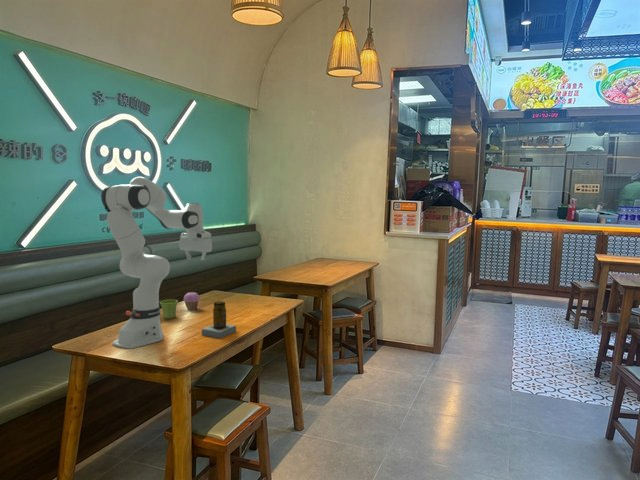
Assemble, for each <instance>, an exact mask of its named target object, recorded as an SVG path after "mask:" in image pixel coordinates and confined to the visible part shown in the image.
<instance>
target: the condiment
mask: <svg viewBox="0 0 640 480" xmlns="http://www.w3.org/2000/svg"><path fill="white" fill-rule="evenodd" d="M212 310H213V311H212V316H213V322H212V323H213V324H212V325H214V326H211V325H209V326H210V327H212V328H214V329H217V330H222V329H227V328H232V327H230V326H227V325H226V324H227V308H226V302H225V301H222V300H220V301H214V303H213V309H212Z"/></svg>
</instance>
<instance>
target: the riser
mask: <svg viewBox="0 0 640 480" xmlns="http://www.w3.org/2000/svg"><path fill="white" fill-rule="evenodd" d="M226 325H227V326H230V327H232V328H227V329H222V330H217V329H214V328H212V327H210V326H214V325H213V324H211V325H209V326H206V327H204V328H202V329H201V336H205V337H212V338H214V339H221V338H223V337H227V336H229V335H231V334H234V333H236V332H237V326H236V325H233V324H229V323H226Z"/></svg>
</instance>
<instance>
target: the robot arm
mask: <svg viewBox="0 0 640 480" xmlns="http://www.w3.org/2000/svg"><path fill="white" fill-rule="evenodd" d="M100 195H101V196H100V197H101V198H100V199H101V203H102V205H103V207H104V209H105V211H106V212H107V216H106V222H107V225H108V228H109V230H110V233H111V235H112V236H113V238H114V240H115V242H116V243H117V245H118V248H119V250H120V252H121V253H120V254H121V258H120V261H119V270H120V272H121V273H122V274H124V275H125V276H128V277H131V278H136V279H137V278H138V279H139V280H140V281H139V285H138V287H136V288H135V289H134V290H133V292H132V303H133V305H132V306H133V307H132V310H131V311H129V310H126V312H125V315H126V316H129V317H130V318H129V319H128V320H126V322H125V324H123V326H121V328H119V330H118V333H117V335H118V336H117V338H116V339H114V340H113V341H112V345H113V346H115V347H118V348H122V349H124V348H125V349H136V348H139V347H142V346H146V345H150V344H154V343H157V342H161V341H163V340H164V332H163V328H162V323H161V319H160V315H161V305H160V300H159V299H160V298H159V297H160V296H159V295H160V294H159V293H160V288H161V284H162V282H163V280H164V279H165V278H166V277H168V275H169V274H170V270H171V265H170V262H169V260H168V259H167V258H166V257H163V256H160V255H155V254H146V252H145V251H144V250H143V248H144V246H145V244H146V238H145V236H144V234H143V232H142V230H141V228H140V227H139V225H138V223H137V221H136V219H135V218H134V216H133V210H136V211H138V210H142V209H146V211H148V212H149V213H150V214H151V215H153V217H155V218H156V219H157V220H158V221H159V223H160V224H161V227H163V228H164V229H167V230H173V229H175V230H176V229H177V230H178V229H179V230H185V232H182V233H181V234H180V238H179V250H181V251H184V253H185V255H186V259H187V260H191V259H192V255H191V254H190V252H200V253H201V254H202V255H201V256H200V261H205V260H206V258H205V257H206V255H207V253H211V252H212V250H213V243H212V242H213V241H212V238H211V237H212V233H211V232H209V231H206V230H205V229H204V226H203V222H204V214H203V213H204V212H203V207H202V205H201V204H199V203H197V202H196V203H194V202H188V203H186V205H185V207H184V208H182V209H167V208H164V207H165V205H166V202H167V197H168V196H167V193H166V192H165V191H164V190H163V188H162V187H160V186H159V185H158V184H156V183H155V182H154V181H152V180H150V179H148V178H146V177H143V176H136V177H134V178H132V179H131V180H130V182H129V184H118V185H109V186H107V187H104V189H102V191H101V194H100Z"/></svg>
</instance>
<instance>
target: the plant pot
mask: <svg viewBox="0 0 640 480" xmlns="http://www.w3.org/2000/svg"><path fill="white" fill-rule="evenodd" d="M178 302H179V300H178V299H164V300H161V301H159V305H160V307H161V311H162V316H163V318H164V319H172V318H174V319H175V318H176V316H177V306H178Z"/></svg>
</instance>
